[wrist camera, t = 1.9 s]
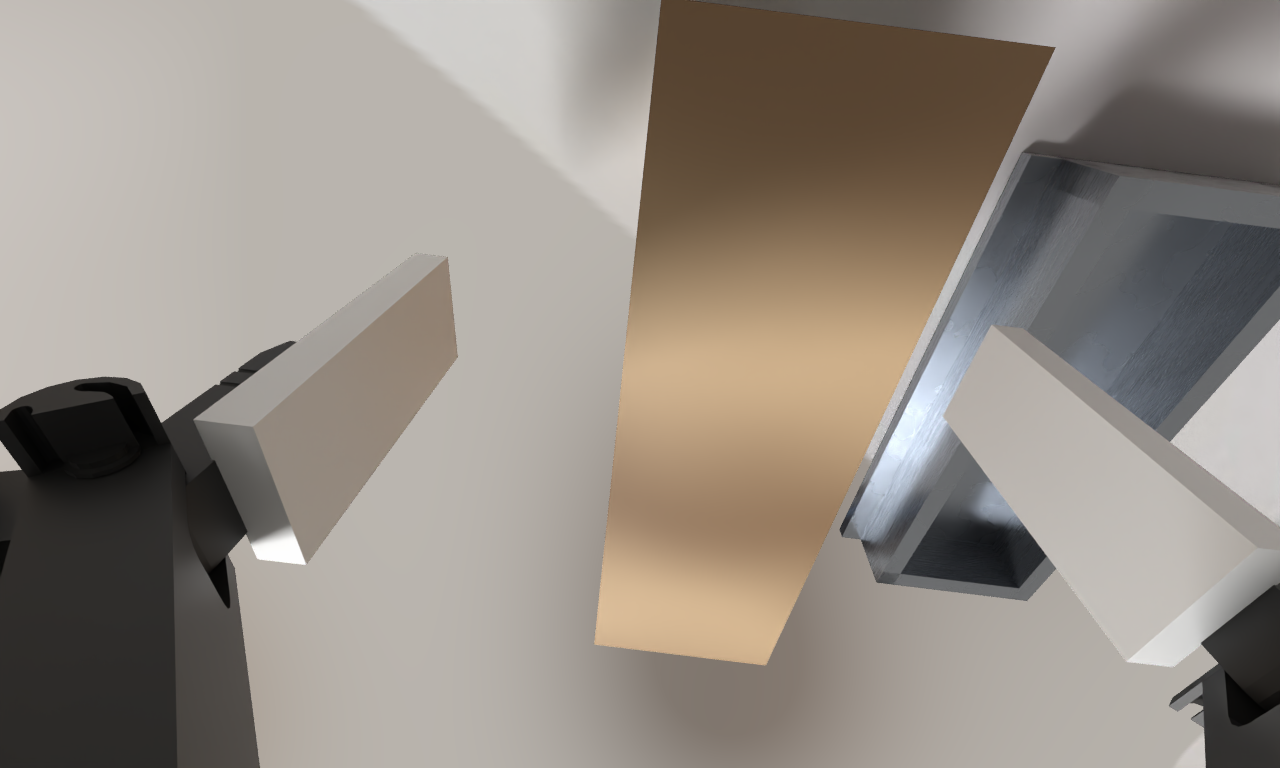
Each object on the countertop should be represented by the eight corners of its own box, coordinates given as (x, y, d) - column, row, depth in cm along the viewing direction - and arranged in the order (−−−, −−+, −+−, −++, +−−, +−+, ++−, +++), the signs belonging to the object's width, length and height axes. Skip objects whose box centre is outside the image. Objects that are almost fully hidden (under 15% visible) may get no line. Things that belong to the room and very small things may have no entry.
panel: (673, 30, 15) (661, -4, 5) (806, 47, 15) (1056, 47, 5) (633, 370, 22) (594, 644, 12) (725, 381, 22) (765, 664, 12)
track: (1022, 152, 16) (1084, 171, 14) (1300, 187, 16) (1413, 213, 14) (839, 529, 26) (856, 580, 24) (1012, 550, 26) (1047, 603, 24)
